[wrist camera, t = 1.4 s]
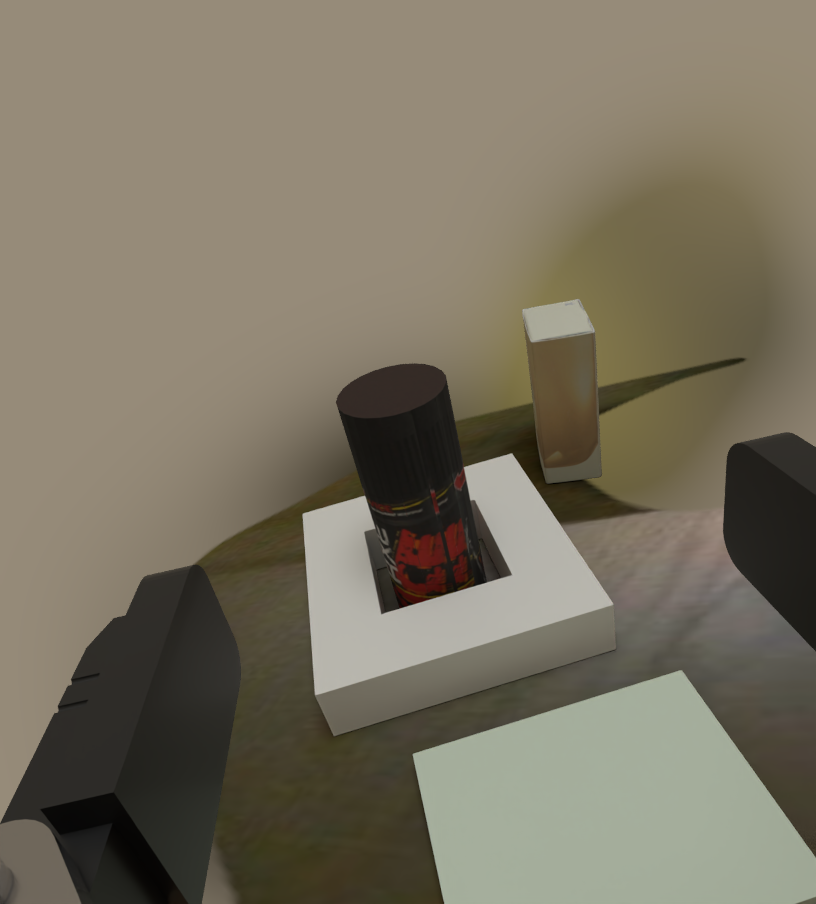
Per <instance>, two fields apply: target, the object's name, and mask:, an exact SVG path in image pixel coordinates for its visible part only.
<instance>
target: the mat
mask: <svg viewBox="0 0 816 904" xmlns="http://www.w3.org/2000/svg"><path fill="white" fill-rule="evenodd" d="M413 758H414V763H415V768H416V772H417V777H418V782H419V787H420V791H421V796H422V801H423V805H424V810H425V815H426V820H427V824H428V829H429V834H430V839H431V843H432V848H433V853H434V857H435V862H436V867H437V872H438V876H439V881H440V886H441V891H442V895H443V900H444V904H816V858H815V856H814V855H813V853H812V852H811V851H810V849H809V848H808V846H807V845H806V844H805V842H804V841H803V839H802V838H801V837H800V835H799V834H798V832H797V831H796V830H795V828H794V827H793V825H792V824H791V823H790V821H789V820H788V818H787V817H786V816H785V814H784V813H783V811H782V810H781V809H780V807H779V806H778V804H777V803H776V802H775V800H774V799H773V797H772V796H771V795H770V793H769V792H768V790H767V789H766V788H765V786H764V785H763V783H762V782H761V781H760V779H759V778H758V776H757V775H756V774H755V772H754V771H753V769H752V768H751V767H750V765H749V764H748V762H747V761H746V760H745V758H744V757H743V755H742V754H741V753H740V751H739V750H738V748H737V747H736V746H735V744H734V743H733V741H732V740H731V739H730V737H729V736H728V735H727V733H726V732H725V730H724V729H723V728H722V726H721V725H720V723H719V722H718V721H717V719H716V718H715V716H714V715H713V714H712V712H711V711H710V709H709V708H708V707H707V705H706V704H705V702H704V701H703V700H702V698H701V697H700V695H699V694H698V693H697V691H696V690H695V688H694V687H693V686H692V684H691V683H690V681H689V680H688V679H687V677H686V676H685V674H684V673H683V672H682V670H680V671H677V672H674V673H671V674H667V675H664V676H661V677H658V678H655V679H651V680H648V681H645V682H642V683H639V684H635V685H632V686H629V687H626V688H623V689H619V690H616V691H613V692H610V693H607V694H603V695H600V696H597V697H594V698H591V699H587V700H584V701H581V702H578V703H574V704H571V705H568V706H565V707H562V708H558V709H555V710H552V711H549V712H546V713H542V714H539V715H536V716H533V717H530V718H526V719H523V720H520V721H517V722H514V723H510V724H507V725H504V726H501V727H498V728H494V729H491V730H488V731H485V732H482V733H478V734H475V735H472V736H469V737H466V738H462V739H459V740H456V741H453V742H450V743H446V744H443V745H440V746H437V747H434V748H430V749H427V750H424V751H421V752H418V753H414V754H413Z"/></svg>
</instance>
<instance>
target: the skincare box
mask: <svg viewBox="0 0 816 904" xmlns="http://www.w3.org/2000/svg"><path fill="white" fill-rule="evenodd" d="M522 312H523V321H524V328H525V337H526V346H527V353H528V363H529V372H530V380H531V390H532V398H533V407H534V416H535V426H536V435H537V443H538V450H539V456H540V461H541V466H542V469H543V473H544V477H545V481H546V483H547V484H549V483H558V482H566V481H574V480H582V479H589V478H597V477H601V475H602V470H601V449H600V429H599V407H598V385H597V363H596V341H595V330H594V328H593V326H592V324H591V322H590V320H589V318H588V315H587V313H586V312H585V310H584V308H583V306H582V304H581V302H580V300H579V299H577V300H572V301H567V302H561V303H556V304H550V305H544V306H538V307H533V308H528V309H524V310H523V311H522Z"/></svg>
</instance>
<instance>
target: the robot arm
mask: <svg viewBox="0 0 816 904" xmlns="http://www.w3.org/2000/svg"><path fill="white" fill-rule="evenodd" d="M723 534H724V540H725V544H726V548H727V550H728V553H729V555H730V557H731V559H732V561H733V563H734V564H735V566H736V567H737V569H738V570H739V571H740V572H741V573H742V574H743V575H744V576H745V577H746V578H747V580H748V581H749V582H750V583H751V584H752V585H753V586H754V587H755V588H756V589H757V590H758V591H759V592H760V593H761V594H762V595H763V596H764V597H765V598H766V600H767V601H768V602H769V603H770V604H771V605H772V606H773V607H774V608H775V609H776V610H777V611H778V612H779V613H780V614H781V615H782V616H783V617H784V618H785V620H786V621H787V622H788V623H789V624H790V625H791V626H792V627H793V628H794V629H795V630H796V631H797V632H798V633H799V634H800V635H801V636H802V637H803V638H804V640H805V641H806V642H807V643H808V644H809V645H810V646H811V647H812V648H813V649H814V650H815V651H816V447H814V446H813V445H811V444H810V443H808V442H806V441H804V440H803V439H802V438H800V437H798V436H797V435H795V434H793V433H781V434H776V435H772V436H767V437H763V438H759V439H755V440H750V441H746V442H741V443H737V444H734V445H733V446H732V447H731V448H730V450H729V452H728V456H727V465H726V485H725V504H724V523H723ZM240 680H241V665H240V657H239V651H238V647H237V644H236V641H235V638H234V636H233V633H232V631H231V629H230V627H229V624H228V622H227V620H226V618H225V615H224V613H223V611H222V608H221V606H220V604H219V602H218V599H217V597H216V595H215V593H214V590H213V588H212V586H211V584H210V581H209V579H208V577H207V575H206V573H205V571H204V570H203V569H202V568H201V567H200V566H199V565H192V566H187V567H183V568H179V569H174V570H169V571H165V572H161V573H156V574H152V575H147V576H145V577H144V578H143V579H142V581H141V582H140V584H139V586H138V589H137V591H136V593H135V595H134V598H133V600H132V602H131V605H130V607H129V609H128V611H127V613H126V616H122V617H117V618H114V619H113V620H112V621H111V622H110V623H109V624H108V625H107V626H106V627H105V628H104V630H103V631H102V632H101V633H100V634H99V635H98V636H97V637H96V638H95V639H94V640H93V641H92V643H91V644H90V645H89V646H88V647H87V648H86V650H85V652H84V654H83V656H82V658H81V660H80V662H79V664H78V666H77V668H76V670H75V672H74V674H73V677H72V679H71V681H72V685H70V686H68V687H67V689H66V691H65V693H64V695H63V697H62V699H61V701H60V703H59V705H58V709H59V711H58V713H55V714H54V715H53V717H52V719H51V721H50V723H49V725H48V727H47V729H46V731H45V733H44V735H43V737H42V740H41V741H40V743H39V746H38V748H37V750H36V752H35V754H34V756H33V758H32V760H31V762H30V764H29V766H28V768H27V770H26V772H25V774H24V776H23V778H22V780H21V782H20V784H19V786H18V788H17V790H16V792H15V794H14V796H13V798H12V800H11V802H10V805H9V806H8V808H7V811H6V813H5V815H4V817H3V819H2V821H1V823H0V904H202V898H203V892H204V887H205V881H206V876H207V870H208V864H209V858H210V853H211V847H212V841H213V835H214V830H215V824H216V818H217V813H218V807H219V801H220V795H221V790H222V784H223V778H224V773H225V767H226V761H227V755H228V750H229V744H230V738H231V732H232V727H233V721H234V715H235V710H236V704H237V698H238V692H239V687H240Z"/></svg>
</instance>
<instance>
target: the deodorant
mask: <svg viewBox="0 0 816 904" xmlns="http://www.w3.org/2000/svg"><path fill="white" fill-rule="evenodd" d="M336 404H337V407H338V410H339V413H340V416H341V420H342V423H343V426H344V429H345V433H346V436H347V439H348V442H349V445H350V449H351V452H352V455H353V458H354V461H355V464H356V468H357V471H358V474H359V478H360V481H361V484H362V487H363V491H364V494H365V497H366V500H367V503H368V507H369V510H370V513H371V516H372V520H373V523H374V526H375V529H376V532H377V536H378V539H379V542H380V545H381V549H382V552H383V555H384V558H385V561H386V565H387V568H388V571H389V574H390V578H391V581H392V584H393V587H394V591H395V594H396V597H397V600H398V603H399V607H400V608H404V607H407V606H411V605H414V604H417V603H421V602H424V601H427V600H431V599H434V598H437V597H441V596H444V595H447V594H451V593H454V592H457V591H461V590H464V589H467V588H471V587H474V586H477V585H481V584H484V583H487V581H486V576H485V571H484V566H483V561H482V556H481V551H480V546H479V541H478V536H477V531H476V526H475V521H474V516H473V511H472V506H471V501H470V496H469V490H468V485H467V480H466V475H465V470H464V465H463V460H462V455H461V450H460V445H459V440H458V435H457V430H456V425H455V420H454V415H453V410H452V405H451V400H450V395H449V390H448V385H447V380H446V375H445V374H444V373H443V372H442V370H439V369H438V368H436V367H434V366H430V365H426V364H400V365H395V366H390V367H385V368H382V369H379V370H375V371H372V372H370V373H368V374H365V375H363V376H361V377H359V378H357V379H356V380H354V381H352V382H351V383H350V384H348V385H347V386H346V387H345V388H343V390H342V391H341V393H340V394H339V395H338V398H337V401H336Z"/></svg>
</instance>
